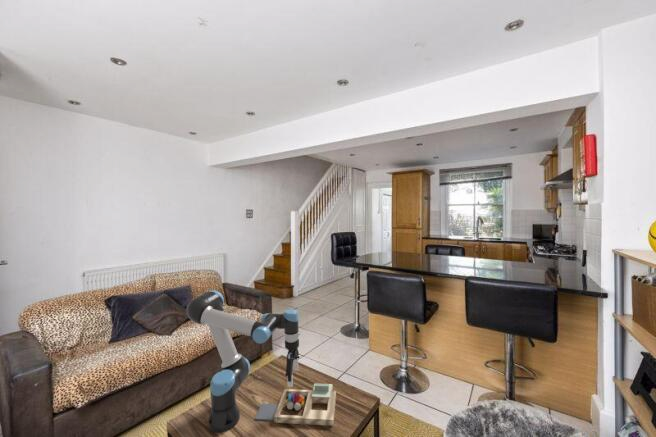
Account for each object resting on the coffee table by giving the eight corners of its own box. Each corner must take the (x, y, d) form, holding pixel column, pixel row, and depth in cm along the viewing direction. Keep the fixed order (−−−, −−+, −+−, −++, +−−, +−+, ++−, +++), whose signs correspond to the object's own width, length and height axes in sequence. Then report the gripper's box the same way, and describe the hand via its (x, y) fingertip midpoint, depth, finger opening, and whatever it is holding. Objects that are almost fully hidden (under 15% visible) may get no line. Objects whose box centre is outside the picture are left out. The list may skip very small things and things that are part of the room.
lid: (311, 397, 152) (311, 391, 151) (314, 384, 163) (314, 378, 162) (329, 398, 151) (329, 391, 150) (331, 385, 161) (331, 379, 161)
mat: (254, 419, 141) (254, 418, 141) (261, 404, 152) (261, 403, 152) (275, 420, 140) (275, 419, 140) (281, 405, 151) (281, 404, 151)
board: (274, 422, 139) (273, 416, 139) (287, 387, 166) (287, 382, 166) (333, 425, 136) (332, 419, 136) (336, 389, 163) (336, 384, 162)
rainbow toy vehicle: (301, 412, 145) (301, 399, 145) (284, 410, 147) (284, 397, 147) (306, 401, 153) (306, 389, 153) (290, 399, 155) (289, 387, 155)
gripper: (293, 352, 134) (294, 394, 135) (303, 329, 159) (304, 364, 160) (278, 351, 135) (280, 393, 136) (290, 328, 159) (291, 364, 160)
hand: (293, 378), depth 148 cm, fingers open, 13 cm apart
